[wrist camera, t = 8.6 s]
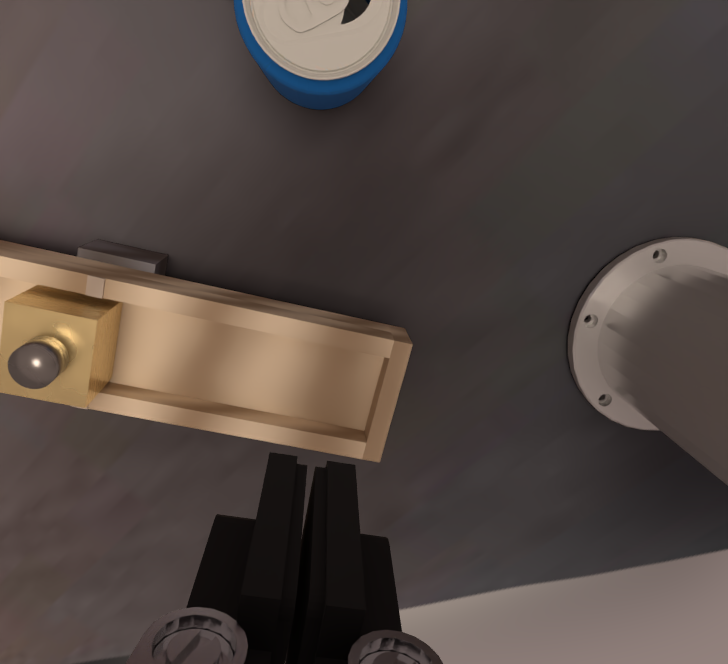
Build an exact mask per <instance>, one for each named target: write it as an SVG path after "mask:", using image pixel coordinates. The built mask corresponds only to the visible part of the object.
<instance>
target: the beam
mask: <svg viewBox="0 0 728 664" xmlns="http://www.w3.org/2000/svg"><path fill="white" fill-rule="evenodd" d="M167 260H168V255H166V254H162V253H157V252H153V251H148V250H144V249H139V248H135V247H130V246H126V245H121V244H117V243H112V242H108V241H103V240H99V239H97V240H94V241H92V242H90V243H87V244H85V245H83V246H80V247H78V253H77V257H76V256H72V255H67V254H62V253H58V252H53V251H49V250H44V249H40V248H35V247H30V246H26V245H21V244H17V243H12V242H8V241H3V240H0V345H1V334H2V323H3V312H4V301H6V300H8V299H10V298H12V297H14V296H16V295H18V294H20V293H22V292H24V291H26V290H28V289H30V288H32V287H34V286H36V285H43V286H48V287H53V288H57V289H62V290H67V291H72V292H76V293H81V294H85V295H87V296H92V297H97V298H101V299H102V298H105V299H110V300H114V301H119V302H123V305H122V312H121V319H120V326H119V333H118V340H117V347H116V354H115V361H114V368H113V374H112V378H111V379H110V381H109V382H108V383H107V384H106V385H105V386H104V387H103V389H102V390H101V391H100V392H99V393H98V394H97V396H96V397H95V398H94V399H93V400H92V401H91V402H90V404H89V405H88V406H87V407H86V408H82V407H77V406H71V407H77V408H82V409H93V410H99V411H104V412H110V413H115V414H120V415H126V416H131V417H137V418H142V419H147V420H153V421H158V422H164V423H169V424H175V425H180V426H185V427H191V428H196V429H202V430H207V431H212V432H218V433H223V434H229V435H234V436H239V437H245V438H250V439H256V440H261V441H266V442H272V443H277V444H283V445H288V446H293V447H299V448H304V449H310V450H315V451H321V452H326V453H331V454H337V455H342V456H348V457H353V458H358V459H364V460H369V461H375V462H380V459H381V456H382V452H383V449H384V445H385V442H386V438H387V434H388V431H389V427H390V424H391V420H392V417H393V413H394V410H395V406H396V402H397V399H398V395H399V392H400V388H401V385H402V381H403V378H404V374H405V370H406V367H407V363H408V360H409V356H410V353H411V349H412V346H413V344H412V342H411V340H410V338H409V336H408V334H407V332H406V330H405V328H401V327H396V326H392V325H387V324H383V323H378V322H374V321H369V320H364V319H360V318H355V317H351V316H346V315H342V314H337V313H332V312H328V311H323V310H319V309H314V308H310V307H305V306H300V305H296V304H291V303H287V302H282V301H277V300H273V299H268V298H264V297H259V296H255V295H250V294H245V293H241V292H236V291H232V290H227V289H223V288H218V287H213V286H209V285H204V284H200V283H195V282H191V281H186V280H181V279H177V278H172V277H168V276H165V273H166V267H167Z"/></svg>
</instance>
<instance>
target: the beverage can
mask: <svg viewBox="0 0 728 664" xmlns="http://www.w3.org/2000/svg"><path fill="white" fill-rule="evenodd" d="M234 10H235V15H236V21H237V24H238V27H239V31H240V34H241V36H242V38H243V40H244V43H245V45H246V47H247V48H248V50H249V52H250V53H251V55H252V56H253V58H254V59H255V61H256V62H257V64H258V65H259V67H260V68H261V70H262V71H263V73H264V74H265V75H266V77H267V78H268V80H269V81H270V83H271V84H272V85H273V87H274V88H275V89H276V90H277V91H278V92H279V93H280V94H281V95H283V96H284V97H285V98H286V99H288V100H290V101H291V102H293V103H295V104H297V105H299V106H302V107H306V108H309V109H316V110H325V109H332V108H336V107H339V106H342V105H344V104H346V103H348V102H350V101H351V100H353V99H354V98H355V97H357V96H358V95H359V94H360V93H361V92H362V91H363V90H364V89H365V88H366V87H367V86H368V84H369V83H370V82H371V81H372V80H373V79H374V78H375V77H376V76H377V74H378V73H379V72H380V71H381V70H382V69H383V68H384V67H385V66H386V64H387V63H388V61H389V60H390V59H391V57H392V56H393V54H394V52H395V50H396V48H397V47H398V44H399V42H400V39H401V37H402V34H403V30H404V26H405V22H406V15H407V0H234Z"/></svg>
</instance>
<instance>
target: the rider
mask: <svg viewBox="0 0 728 664" xmlns="http://www.w3.org/2000/svg"><path fill="white" fill-rule="evenodd" d="M122 305H123V302H119V301H114V300H110V299H105V298H102V299H101V298H97V297H92V296H87V295H85V294H81V293H76V292H72V291H67V290H62V289H57V288H53V287H48V286H43V285H36V286H34V287H32V288H30V289H28V290H26V291H24V292H22V293H20V294H18V295H16V296H14V297H12V298H10V299H8V300H6V301H4V312H3V323H2V334H1V345H0V392H1V393H6V394H12V395H17V396H23V397H28V398H33V399H39V400H44V401H50V402H55V403H60V404H66V405H71V406H77V407H82V408H86V407H87V406H88V405H89V404H90V402H91V401H92V400H93V399H94V398H95V397H96V396H97V394H98V393H99V392H100V391H101V390H102V389H103V387H104V386H105V385H106V384H107V383H108V382H109V381H110V379H111V378H112V374H113V368H114V361H115V354H116V347H117V340H118V333H119V326H120V319H121V312H122Z"/></svg>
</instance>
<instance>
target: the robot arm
mask: <svg viewBox="0 0 728 664" xmlns="http://www.w3.org/2000/svg"><path fill="white" fill-rule="evenodd" d="M654 252H655V255H654V256H653V254H654ZM586 316H588V319H587V320H585V321H584V319H585V318H586ZM568 359H569V364H570V369H571V373H572V375H573V378H574V380H575V382H576V385H577V387H578V388H579V390H580V391H581V393H582V394H583V395H584V397H585V398H586V400H587V401H588V402H589V403H590V404H591V405H592V406H593V407H595V408H596V409H597V410H598V411H599V412H600V413H602V414H603V415H605V416H606V417H607V418H609V419H610V420H612V421H614V422H617V423H619V424H621V425H624V426H626V427H630V428H635V429H640V430H660V431H662V432H663V433H664V434H665V435H666V436H668V437H669V438H670V439H671V440H673V441H674V442H675V443H676V444H677V445H679V446H680V447H681V448H682V449H684V450H685V451H686V452H687V453H688V454H690V455H691V456H692V457H693V458H694V459H696V460H697V461H698V462H699V463H701V464H702V465H703V466H704V467H705V468H707V469H708V470H709V471H710V472H712V473H713V474H714V475H715V476H716V477H718V478H719V479H720V480H721V481H722V482H724V483H725V484H726V485H727V486H728V248H726V247H723V246H721V245H718V244H715V243H713V242H710V241H706V240H702V239H697V238H691V237H669V238H663V239H656V240H653V241H650V242H647V243H644V244H641V245H638V246H636V247H634V248H632V249H630V250H629V251H627V252H625V253H623V254H621V255H620V256H618V257H617V258H616V259H614V260H613V261H612V262H611V263H609V264H608V265H607V266H606V267H604V268H603V269H602V270H601V271H600V273H599V274H598V275H597V276H596V277H595V278H594V279H593V280H592V282H591V283H590V284H589V285H588V287H587V289H586V290H585V292H584V293H583V295H582V297H581V298H580V300H579V302H578V304H577V307H576V309H575V312H574V314H573V317H572V319H571V324H570V329H569V334H568ZM601 395H602V396H601ZM600 396H601V397H600ZM306 473H307V465H301V464H297V456H291V455H284V454H277V453H270V454H269V459H268V464H267V469H266V474H265V478H264V483H263V488H262V493H261V498H260V503H259V508H258V513H257V517H256V520H255V519H248V518H241V517H233V516H226V515H218V514H217V515H216V517H215V520H214V523H213V526H212V529H211V532H210V535H209V538H208V542H207V545H206V548H205V551H204V554H203V557H202V560H201V564H200V567H199V570H198V573H197V576H196V579H195V582H194V586H193V589H192V592H191V595H190V598H189V601H188V605H187V608H183V609H179V610H176V611H173V612H170V613H167V614H165V615H164V616H162V617H161V618H159V619H158V620H156V621H154V622H153V623H152V624H151V626H150V627H149V628H148V629H147V630H146V631H145V633H144V634H143V636H142V637H141V639H140V641H139V642H138V644H137V646H136V647H135V649H134V651H133V652H132V654H131V656H130V657H129V659H128V661H127V662H126V664H443V663H442V661H441V659H440V658H439V656H438V655H437V654H436V653H435V652H434V651H433V650H432V649H431V648H430V647H429V646H428V645H427V644H426V643H424V642H423V641H421V640H419V639H418V638H416V637H414V636H412V635H409V634H406V633H403V632H402V629H401V622H400V615H399V608H398V601H397V594H396V587H395V580H394V573H393V567H392V560H391V553H390V546H389V541H388V539H387V538H386V537H380V536H373V535H366V534H360V524H359V510H358V496H357V483H356V469H355V465H352V464H345V463H338V462H332V461H327V464H326V468H321V467H315V471H314V476H313V481H312V487H311V492H310V497H309V503H308V508H307V513H306V519H305V524H304V529H303V535H302V524H303V511H304V499H305V486H306ZM301 537H302V540H301Z"/></svg>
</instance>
